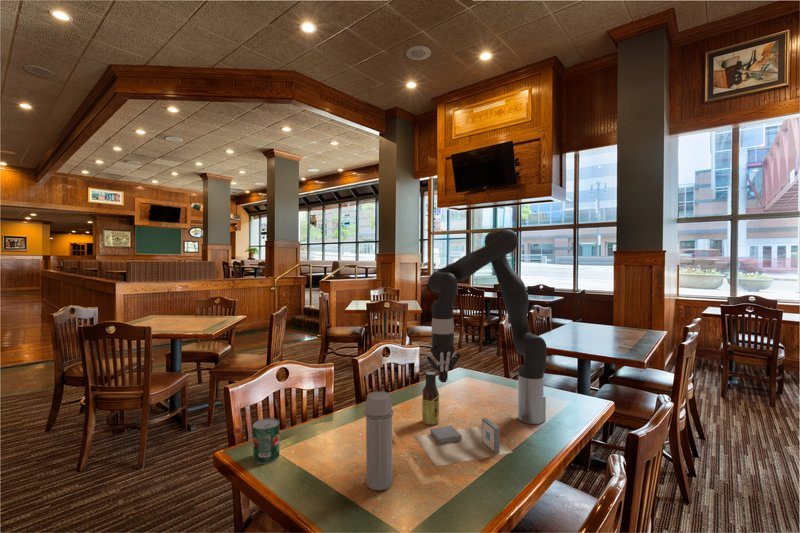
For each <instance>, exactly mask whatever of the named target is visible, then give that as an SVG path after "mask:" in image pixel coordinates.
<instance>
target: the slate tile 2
mask: <svg viewBox="0 0 800 533" xmlns="http://www.w3.org/2000/svg"><path fill="white" fill-rule="evenodd" d="M481 427H482V443H484V444H485V445H486V446H487V447H488V448H489V449H490V450H491V451H493V452H494V453H495V454H497V453H500V442H501V441H500V434H501V432H500V431H501V429H500V427H499V426H498V425H497V424H495V423H494V422H492V420H490V419H488V417H483V418H481Z"/></svg>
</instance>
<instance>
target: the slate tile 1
mask: <svg viewBox="0 0 800 533" xmlns="http://www.w3.org/2000/svg"><path fill="white" fill-rule="evenodd" d="M429 430H430V432H429V434H431V435H432V436H433V437H434V438H435V439H436V440H437V441H438V442H439V444H441V443H447V442H453V441H459V440H462V435H461V434H460V433H458V432H457V431H456V430H457V429H455V427H453V426H452V425H445V426H440V427H439V426H438V427H432V428H430V429H429Z"/></svg>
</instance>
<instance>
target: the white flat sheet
mask: <svg viewBox="0 0 800 533" xmlns="http://www.w3.org/2000/svg"><path fill="white" fill-rule="evenodd" d="M455 430H456V431H457V432H458V433H460V434H461V435H462V440H459V441H453V442H447V443H441V444H439V442H438V441H437V440H436V439H435V438H434V437H433V436H432V435H431V433H428V434H427V433H426V434H421V435H413V437H414V440H416V442H417V443H418V444H419V446H420V447H421V448H422V449H423V451H424V452H425V453H426V455H428V457H429V458H430V459H431V461H432V462H433V464H434V465H435V466H436V467H442V466H447V465H448V466H449V465H453V464H458V463H463V462H470V461H475V460H481V459H485V458H490V457H496V456H502V455H507V454H513V453H514V452H513V451H512V450H510V448H508V447H507V446H506V445H505V444H503V443H502V442H501V441H500V453H497V454H495V453H494V452H493V451H491V450H490V449H489V448H488V447H487V446H486V445H485V444H484V443H482V425H480V426H473V427H467V428H466V427H465V428H460V429H455Z"/></svg>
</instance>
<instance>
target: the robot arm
mask: <svg viewBox="0 0 800 533" xmlns="http://www.w3.org/2000/svg"><path fill="white" fill-rule="evenodd" d="M518 243H519V238H518V236H517V233H515V231H513V230H511V229H506V228H505V229H499V230H495V231H491V232H488V233H487V234H486V236H485V238H484V246H483V247H481V248H479V249H477V250H474V251H471V252H469V253H467V254H465V255H464V256H462V257H460V258H459V259H457V260H456V261H454V262H453V263H451V264H449V265H447V266H444V267H442V268H440V269H438V270H435V271H434V272H432V273H431V275H430V276H429V278H428V280H427V285H428V288H429V290H430V291H431V292H435V293H438V294H439V295H438V296H439V297H438V299H437V300H434V301H433V302H432V306H431V309H432V310H431V313H432V314H431V315H432V316H431V317H432V318H431V348H430V352H429V353H428V354H425V355H424V359H426V361H427V362H428V363H429V365H430V366H431V367H432V369H434V370H435V371H438V374H437V375H438V377H437V379H438V381H439V382H440V383H447V381H448V379H449V377H448V376H449V375H448V373H449V371H450V370H452V369H454V367H455V366H456V364H457V362H458V361H459V359H460V358H461V356H462V354H461V353H459V352H457V351H456V349H455V346H454V345H455V326H454V325H455V324H454V303H455V300H456V296H457V290H458V287H459V286H458V282H463V281H465V280H467V279H468V278H469V277H471V276H473V275H474V274H475V273H476V272H478V271H479V270H481V269H482V268H484V267H486V266H487V265H489V264H490V263H491V265H492V267H493V268H492V269H493V271H494V274H495V276H496V279H497V282H498V286H499V289H500V294H501V297H502V300H503V304H504V307H505V310H506V314H507V318H508V321H509V323H510V327H511V334H512V339H513V344H514V349H515V350H516V352H517V353H518V354H519V355H521V356H523V357H524V364H523V365H521V366H519V367H518V379H517V380H518V394H517V395H518V398H517V399H518V400H517V401H518V403H517V404H518V407H517V408H518V409H517V411H518V412H517V415H518V420H519V421H520V422H521V423H525V424H527V425H528V424H529V425H540V424H542V423H544V422H546V421H547V419H546V418H547V415H546V411H547V410H546V407H547V406H546V405H547V404H546V402H547V401H546V400H547V397H546V395H544V378H545V377H544V374H545V371H546V367H547V355H548V352H547V351H548V347H547V344H546V341H545V339H544V338H543V337H541V336H539V335H536V334H533V333H532V331H531V327H530V326H529V322H528V313H529V307H530V304H529V303H530V299H529V295H528V292H527V287H526V285H525V283H524V282H523V280H522V278H521V277H520V276H519V275H518V274H517V273H516V271H515V270H514V269H513V268H512V266H511V265H510V263H509V261H508V258H507V255H508V254H509V255H510V254H511V253H513V252H514V251H515V250H516V249H517V247H518V245H519V244H518ZM434 359H435V360H436V362H434V361H435V360H434Z"/></svg>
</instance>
